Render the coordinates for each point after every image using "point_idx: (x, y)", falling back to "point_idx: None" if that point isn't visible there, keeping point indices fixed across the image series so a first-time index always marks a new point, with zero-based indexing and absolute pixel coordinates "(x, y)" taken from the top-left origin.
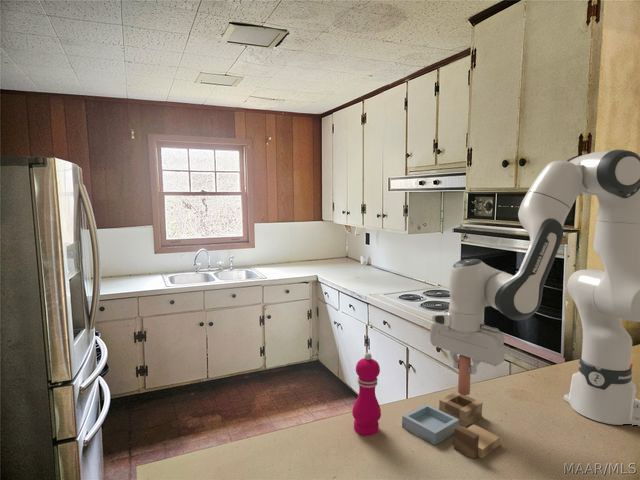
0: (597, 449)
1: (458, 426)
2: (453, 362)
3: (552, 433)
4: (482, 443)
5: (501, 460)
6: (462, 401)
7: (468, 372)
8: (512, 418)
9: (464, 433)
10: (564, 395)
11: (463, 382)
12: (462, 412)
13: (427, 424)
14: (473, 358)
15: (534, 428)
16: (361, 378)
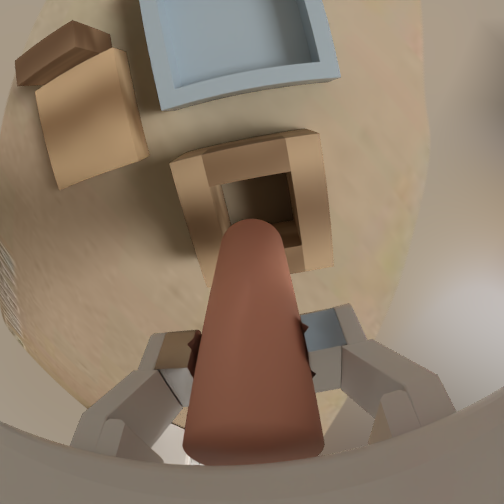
0: (49, 346)
1: (74, 40)
2: (362, 334)
3: (96, 336)
4: (50, 109)
5: (31, 136)
6: None
7: (192, 330)
8: (173, 322)
9: (40, 41)
10: None
11: (227, 258)
12: (188, 157)
13: (243, 14)
14: (59, 449)
15: (119, 325)
16: None
